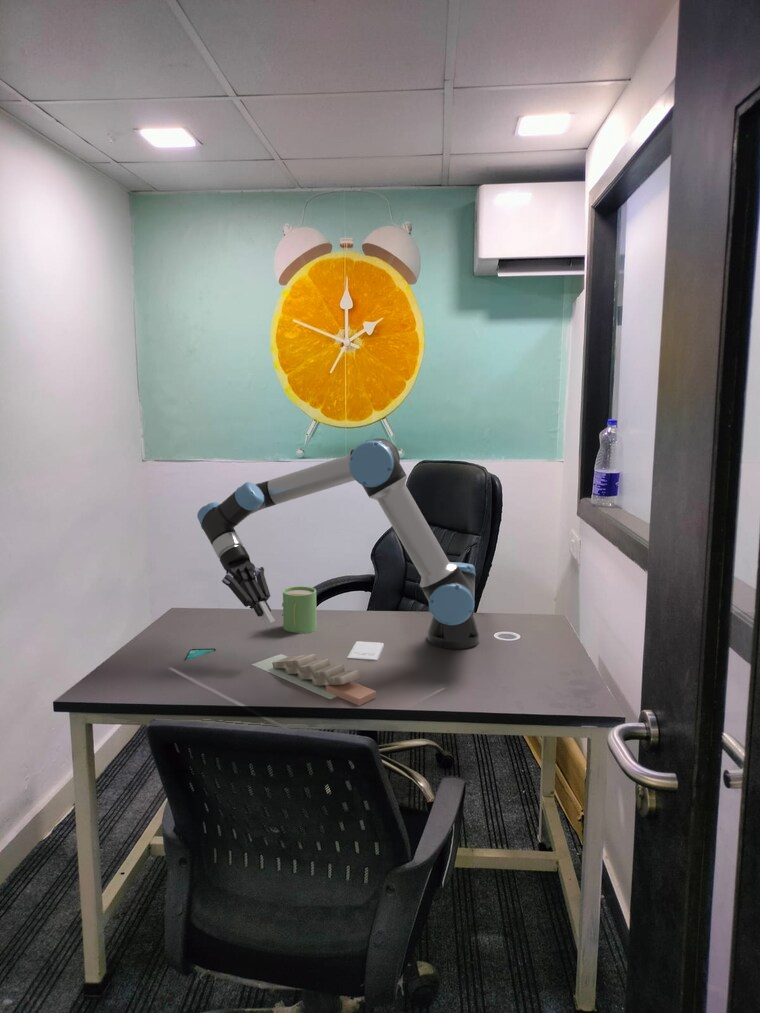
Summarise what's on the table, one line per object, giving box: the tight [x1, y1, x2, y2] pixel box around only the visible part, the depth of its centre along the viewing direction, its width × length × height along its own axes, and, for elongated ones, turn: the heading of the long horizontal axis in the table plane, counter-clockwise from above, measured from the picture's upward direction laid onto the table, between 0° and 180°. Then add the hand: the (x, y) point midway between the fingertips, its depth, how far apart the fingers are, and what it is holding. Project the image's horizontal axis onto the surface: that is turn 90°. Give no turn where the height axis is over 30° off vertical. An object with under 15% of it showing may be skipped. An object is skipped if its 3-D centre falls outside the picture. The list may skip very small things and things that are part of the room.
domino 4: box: [312, 669, 361, 686], centre depth 154 cm, size 2×6×11 cm
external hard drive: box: [346, 640, 385, 662], centre depth 178 cm, size 2×8×12 cm
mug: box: [281, 585, 318, 635], centre depth 196 cm, size 13×10×12 cm
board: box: [251, 653, 338, 700], centre depth 162 cm, size 30×10×1 cm, turn 48°
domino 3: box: [298, 664, 346, 680], centre depth 158 cm, size 2×6×11 cm
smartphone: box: [184, 648, 217, 661], centre depth 173 cm, size 7×1×15 cm
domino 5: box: [326, 680, 377, 707], centre depth 151 cm, size 2×6×11 cm
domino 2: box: [285, 658, 332, 674], centre depth 161 cm, size 2×6×11 cm
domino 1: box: [272, 653, 318, 669], centre depth 164 cm, size 2×6×11 cm
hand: (270, 624), depth 169 cm, fingers closed
